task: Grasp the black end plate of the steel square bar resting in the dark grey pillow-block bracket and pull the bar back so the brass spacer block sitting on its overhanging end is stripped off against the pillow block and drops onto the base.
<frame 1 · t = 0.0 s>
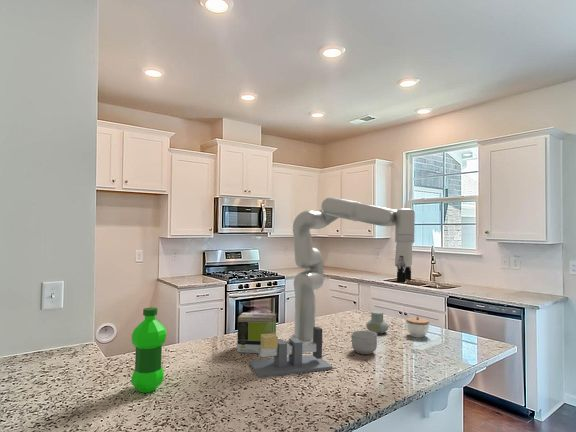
hand: (404, 281, 155), 31 cm above the countertop, tool pointing down, fingers open, 9 cm apart
lidded jar: (417, 336, 188), on the countertop
tea box: (256, 350, 160), on the countertop
bracket: (290, 366, 142), on the countertop
air freshener: (377, 332, 193), on the countertop
plastic bottle: (147, 389, 120), on the countertop
brass spacer: (268, 346, 140), point 8 cm above the countertop, touching shaft
shaft: (290, 344, 142), point 8 cm above the countertop, slide at 0.0 cm, touching brass spacer
teacup: (365, 351, 162), on the countertop
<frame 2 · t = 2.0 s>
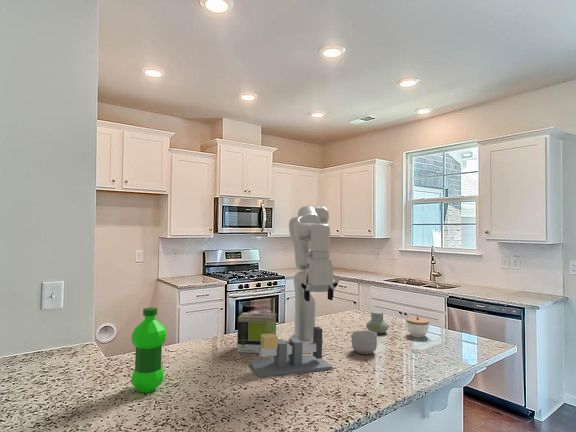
hand: (318, 300, 147), 24 cm above the countertop, tool pointing down, fingers open, 9 cm apart
nothing on the countertop moved.
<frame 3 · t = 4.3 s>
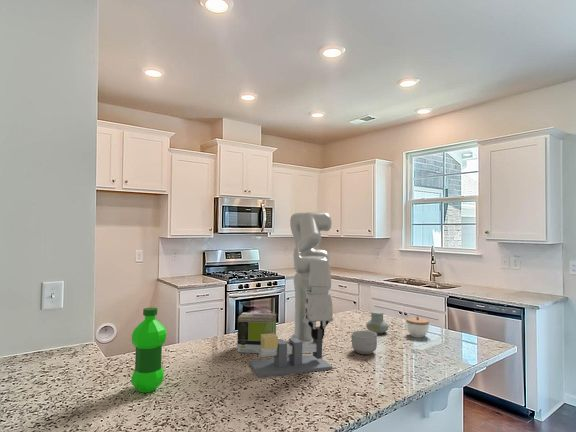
hand: (317, 338, 146), 10 cm above the countertop, tool pointing down, fingers closed on shaft, 2 cm apart
shaft: (290, 344, 142), point 8 cm above the countertop, slide at 0.0 cm, touching brass spacer, gripper
everything else where it was.
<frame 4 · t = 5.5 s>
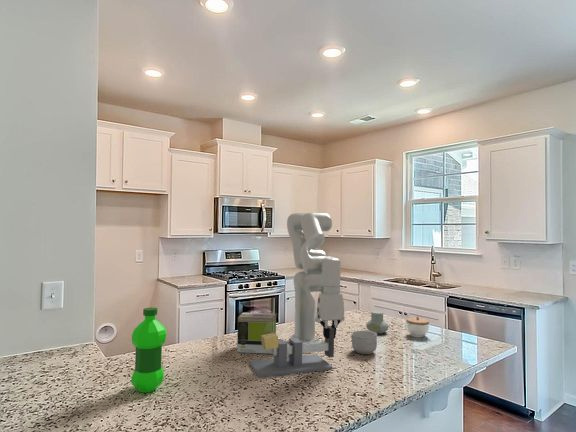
hand: (329, 337, 148), 10 cm above the countertop, tool pointing down, fingers closed on shaft, 2 cm apart
brass spacer: (270, 346, 140), point 8 cm above the countertop, tilted 6°, touching shaft
shaft: (303, 343, 144), point 8 cm above the countertop, slide at 5.0 cm, touching brass spacer, gripper
everything else where it was.
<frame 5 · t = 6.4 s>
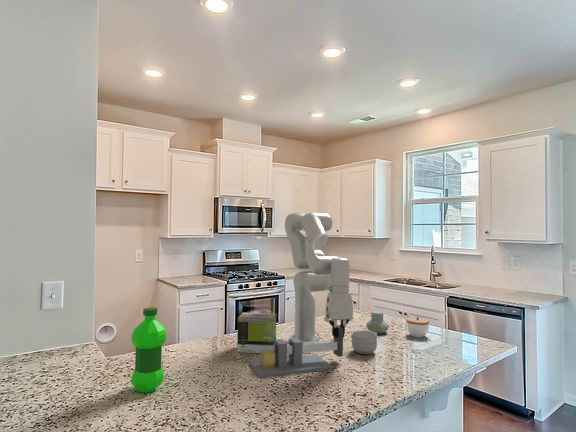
hand: (338, 336, 149), 10 cm above the countertop, tool pointing down, fingers closed on shaft, 2 cm apart
brass spacer: (272, 358, 140), point 3 cm above the countertop, tilted 90°, touching bracket
shaft: (312, 342, 145), point 8 cm above the countertop, slide at 8.9 cm, touching gripper
everything else where it was.
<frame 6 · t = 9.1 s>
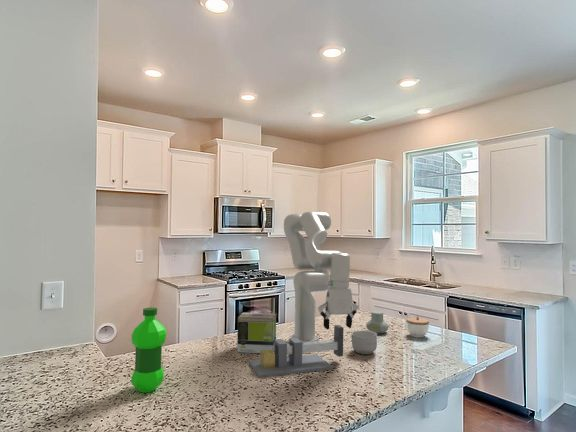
hand: (337, 327, 150), 13 cm above the countertop, tool pointing down, fingers open, 9 cm apart
shaft: (312, 342, 145), point 8 cm above the countertop, slide at 9.0 cm
everything else where it was.
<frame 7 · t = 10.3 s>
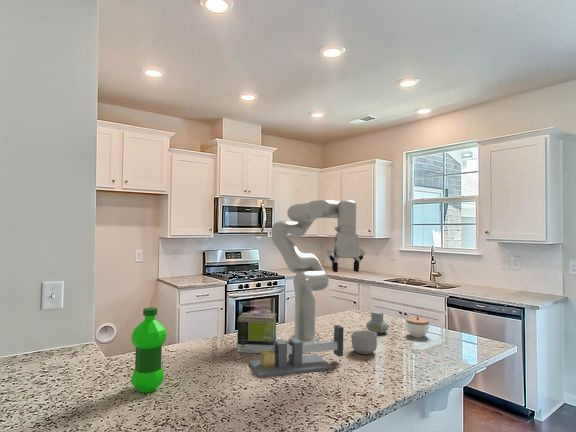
hand: (345, 271, 157), 34 cm above the countertop, tool pointing down, fingers open, 9 cm apart
nothing on the countertop moved.
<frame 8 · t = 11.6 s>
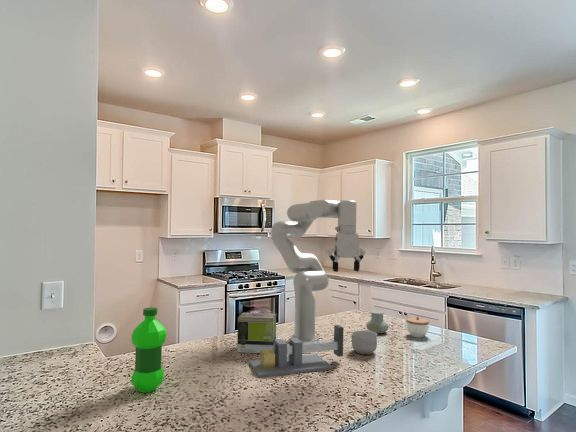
hand: (346, 271, 158), 34 cm above the countertop, tool pointing down, fingers open, 9 cm apart
nothing on the countertop moved.
at the end: shaft slide at 9.0 cm; brass spacer point 3.5 cm above the countertop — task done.
